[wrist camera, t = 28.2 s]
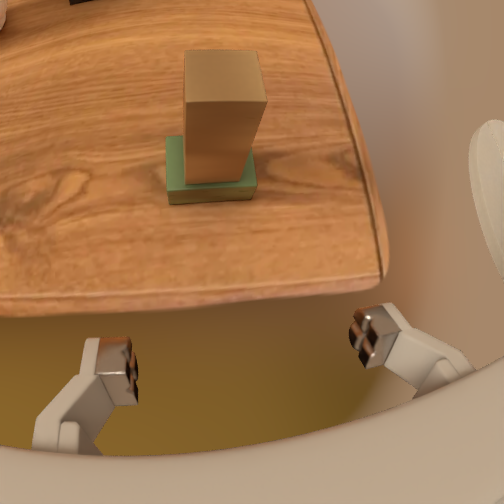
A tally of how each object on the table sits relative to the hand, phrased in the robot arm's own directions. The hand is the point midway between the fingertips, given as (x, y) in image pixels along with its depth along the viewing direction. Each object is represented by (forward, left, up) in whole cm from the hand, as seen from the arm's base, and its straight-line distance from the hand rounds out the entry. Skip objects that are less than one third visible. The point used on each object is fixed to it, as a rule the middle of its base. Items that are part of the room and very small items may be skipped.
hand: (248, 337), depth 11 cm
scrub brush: (0, -10, -7) cm, 12 cm away
